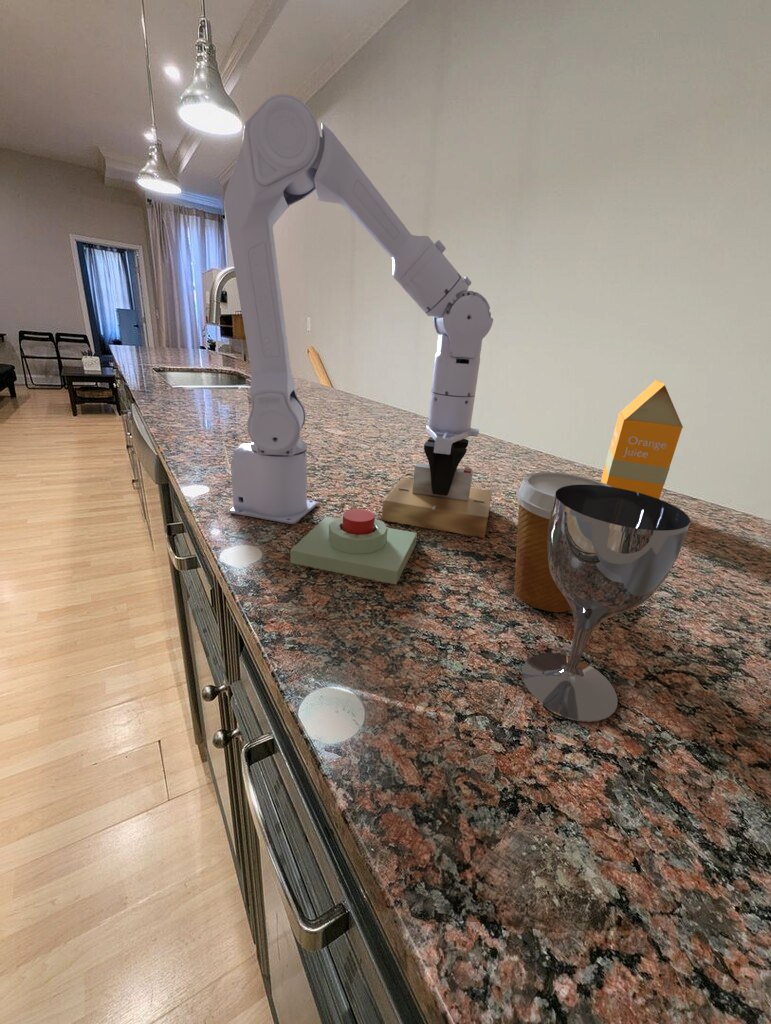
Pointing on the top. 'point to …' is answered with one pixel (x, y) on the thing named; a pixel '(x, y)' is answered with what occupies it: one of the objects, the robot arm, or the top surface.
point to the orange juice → (643, 443)
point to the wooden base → (438, 510)
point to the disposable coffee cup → (539, 539)
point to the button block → (356, 550)
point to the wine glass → (600, 583)
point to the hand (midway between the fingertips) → (440, 491)
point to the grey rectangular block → (458, 486)
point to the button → (358, 522)
